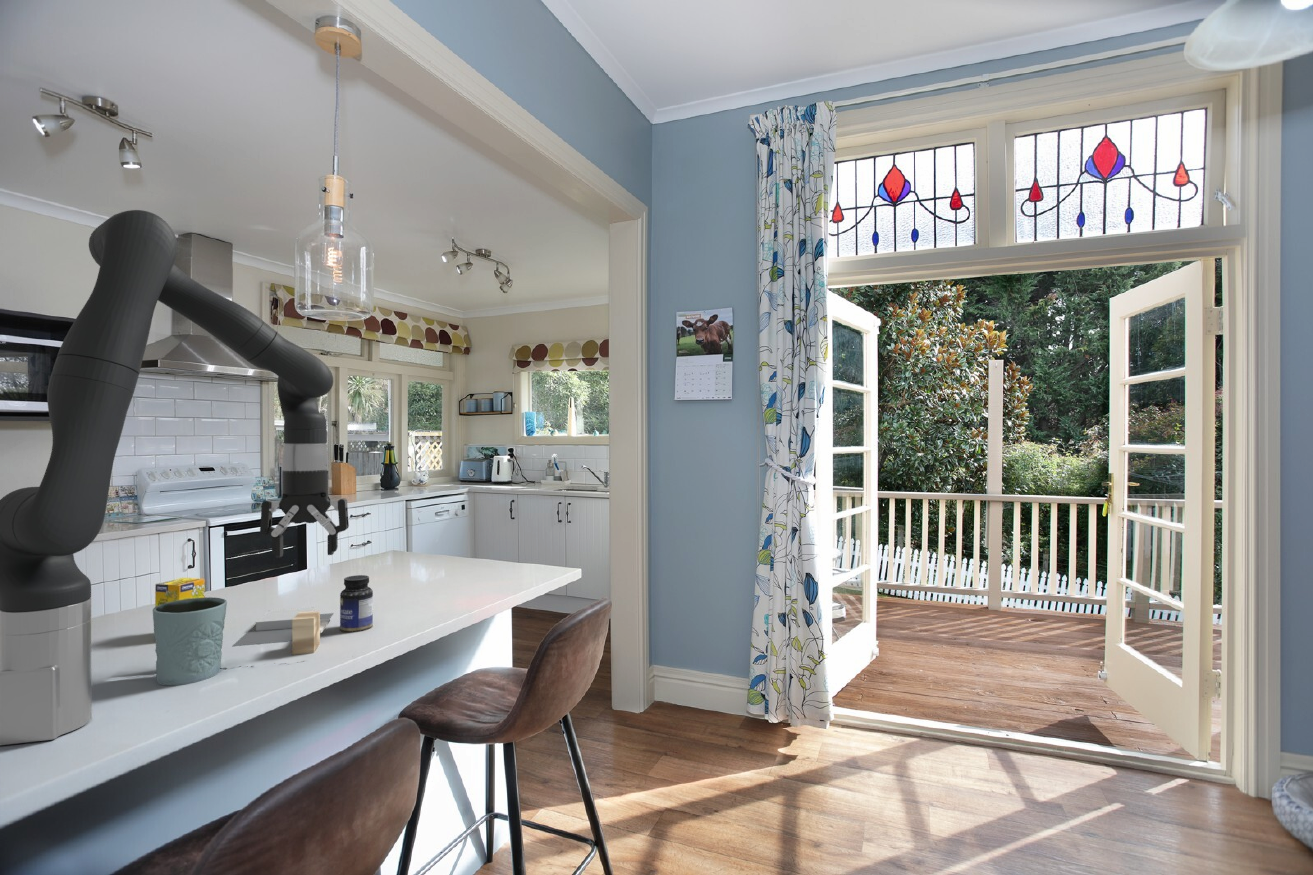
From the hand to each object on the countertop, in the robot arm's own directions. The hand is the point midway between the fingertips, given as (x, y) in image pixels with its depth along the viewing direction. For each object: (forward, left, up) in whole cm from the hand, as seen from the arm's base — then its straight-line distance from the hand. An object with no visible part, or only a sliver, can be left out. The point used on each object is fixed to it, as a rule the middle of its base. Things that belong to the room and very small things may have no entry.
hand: (305, 555), depth 119 cm
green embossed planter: (-7, +16, -18) cm, 25 cm away
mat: (+16, +7, -18) cm, 25 cm away
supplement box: (+19, +27, -18) cm, 38 cm away
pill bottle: (+12, -7, -18) cm, 23 cm away
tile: (+15, +8, -17) cm, 24 cm away
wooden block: (+4, 0, -18) cm, 19 cm away
